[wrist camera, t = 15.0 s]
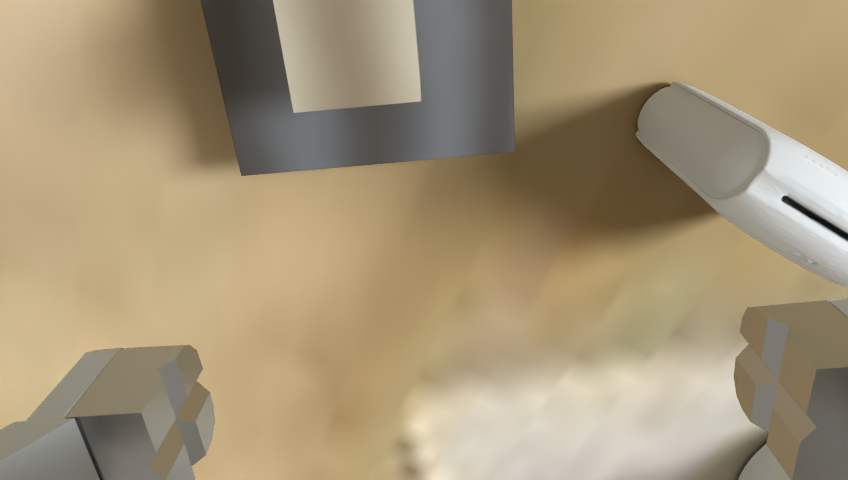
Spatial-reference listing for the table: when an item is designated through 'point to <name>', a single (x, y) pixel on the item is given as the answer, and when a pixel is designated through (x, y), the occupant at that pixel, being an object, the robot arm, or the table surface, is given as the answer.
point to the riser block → (371, 125)
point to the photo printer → (753, 176)
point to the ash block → (349, 52)
